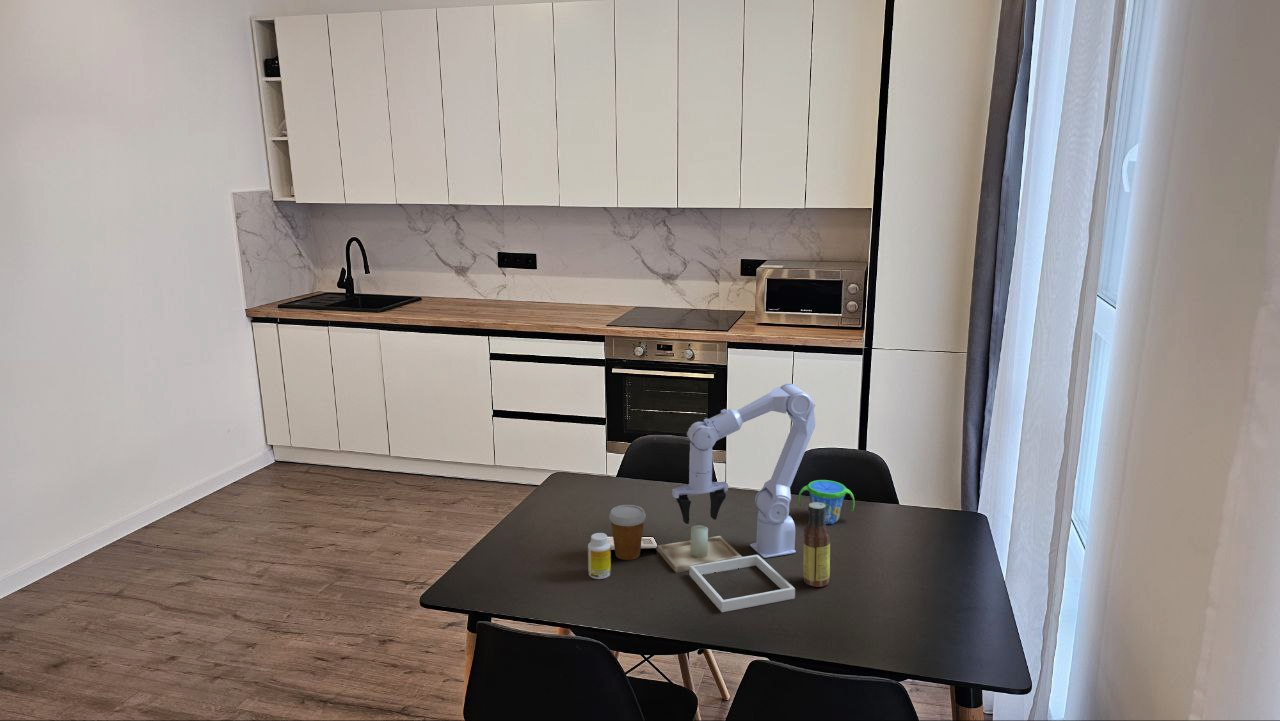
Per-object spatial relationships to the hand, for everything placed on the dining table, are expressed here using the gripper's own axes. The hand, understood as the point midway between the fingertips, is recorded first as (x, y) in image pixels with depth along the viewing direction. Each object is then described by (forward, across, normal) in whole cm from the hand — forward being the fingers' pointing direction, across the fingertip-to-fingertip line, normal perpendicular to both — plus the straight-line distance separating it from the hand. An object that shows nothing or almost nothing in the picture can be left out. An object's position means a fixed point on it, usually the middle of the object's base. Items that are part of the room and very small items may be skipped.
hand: (699, 520), depth 212 cm
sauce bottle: (+10, -21, +22) cm, 32 cm away
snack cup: (+10, -43, -9) cm, 45 cm away
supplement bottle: (+10, +27, +1) cm, 29 cm away
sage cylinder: (+9, 0, 0) cm, 9 cm away
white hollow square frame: (+10, -3, +18) cm, 21 cm away
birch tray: (+10, 0, 0) cm, 10 cm away
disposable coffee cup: (+10, +17, -7) cm, 21 cm away
